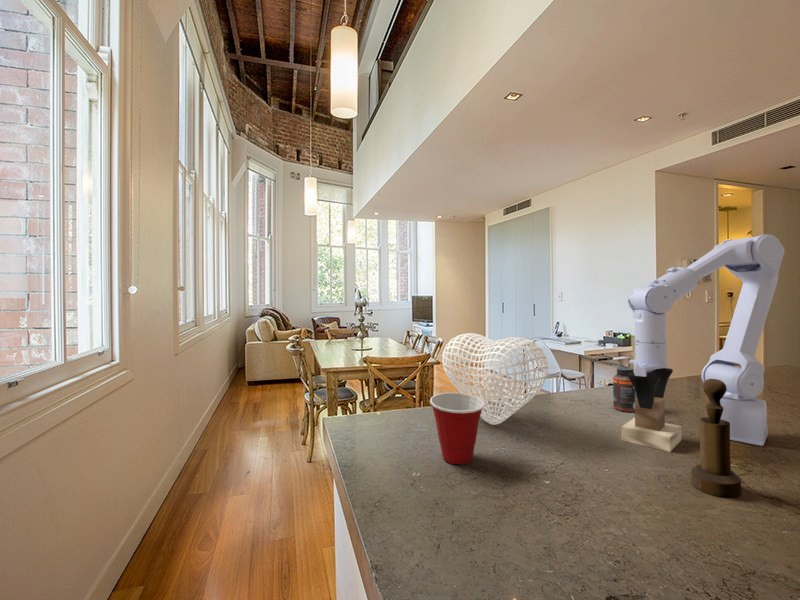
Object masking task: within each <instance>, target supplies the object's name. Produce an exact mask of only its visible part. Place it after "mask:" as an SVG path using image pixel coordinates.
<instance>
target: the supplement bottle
mask: <svg viewBox="0 0 800 600" xmlns="http://www.w3.org/2000/svg"><path fill="white" fill-rule="evenodd" d="M629 373H635V368H632V367H625V366H621V367H616V374H615V375H613V377H612V395H613V396H612V397H613V399H612V402H613V405H612V406H613V409H615V410H617V411H620V412H627V413H635V398H637V395H636V392H635V389H634V387H633V385H632V383H631V381H630V380H629V378H628V374H629Z"/></svg>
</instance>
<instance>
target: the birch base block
mask: <svg viewBox="0 0 800 600" xmlns="http://www.w3.org/2000/svg"><path fill="white" fill-rule="evenodd" d="M620 429H621V431H620V432H621V441H623V442H626V443H627V442H628V443H630V444H631V443H632V444H635V445H640V446H644V447H647V448H648V447H649V448H653V449H657V450H660V451H664V452H668V453H671V452H672V451H673V449H675V448H676V446H678V444H679V443H681V441H682V433H683V432H682V426H681V425H677V424H673V423H666V422H665V426H664V427H663V428H662V429H661V430H660V431H655V430H651V429H646V428H641V427H636V426H635V417H633V418H632V419H629V421H627V422H625V424H622V426H621V428H620Z"/></svg>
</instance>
